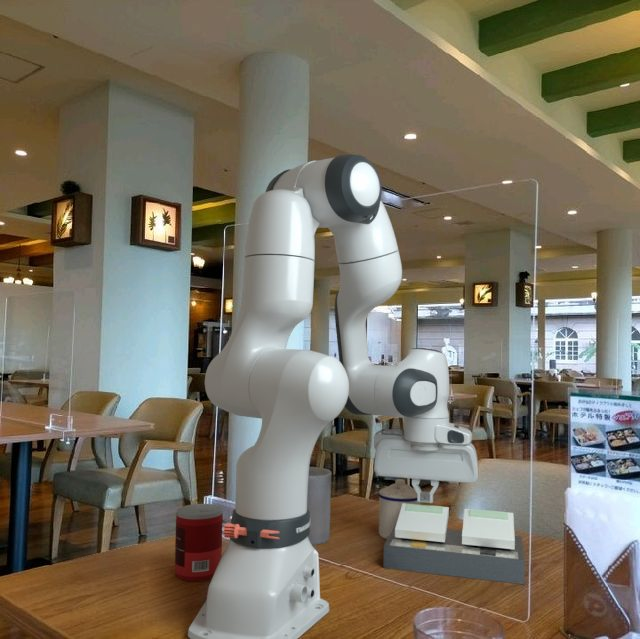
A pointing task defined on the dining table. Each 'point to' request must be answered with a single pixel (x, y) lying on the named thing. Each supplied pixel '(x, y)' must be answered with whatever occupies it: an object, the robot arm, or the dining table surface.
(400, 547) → the switch unit
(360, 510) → the dining table surface
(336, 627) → the dining table surface
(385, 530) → the teacup with lid
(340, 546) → the dining table surface
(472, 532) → the rocker
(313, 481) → the pillar candle
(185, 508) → the canned food
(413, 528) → the rocker
